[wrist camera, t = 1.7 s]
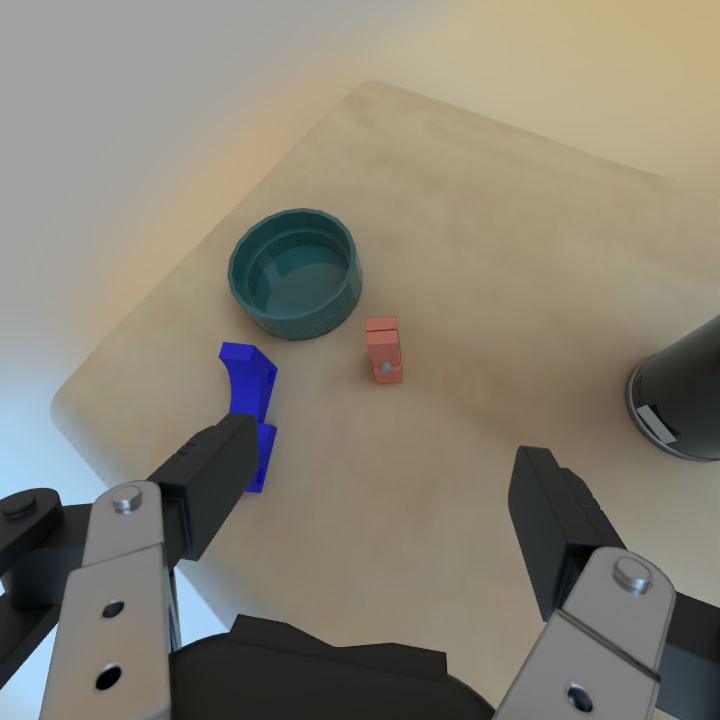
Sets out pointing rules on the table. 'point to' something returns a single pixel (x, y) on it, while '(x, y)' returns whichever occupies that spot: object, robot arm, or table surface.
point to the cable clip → (252, 396)
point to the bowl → (296, 273)
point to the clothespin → (384, 349)
